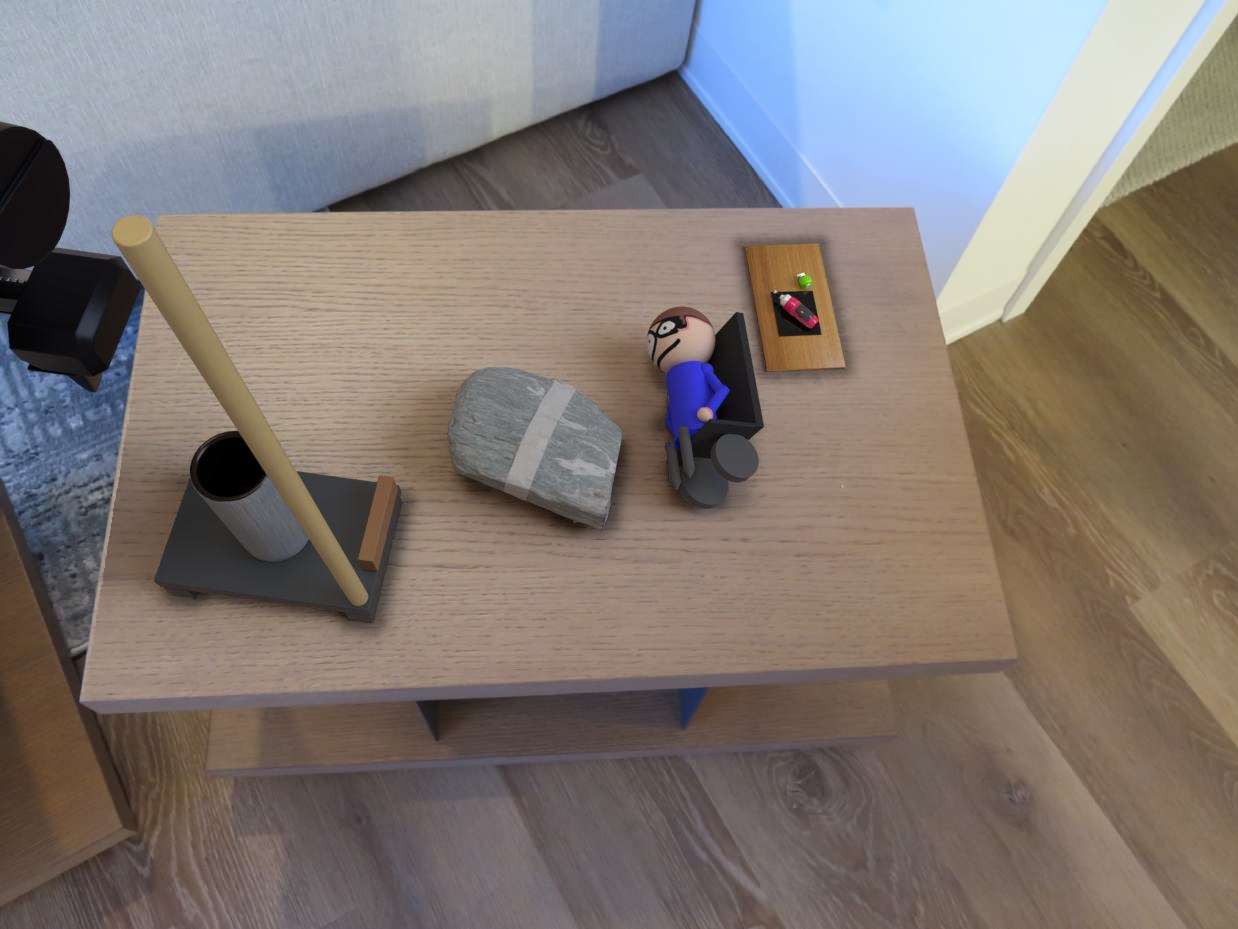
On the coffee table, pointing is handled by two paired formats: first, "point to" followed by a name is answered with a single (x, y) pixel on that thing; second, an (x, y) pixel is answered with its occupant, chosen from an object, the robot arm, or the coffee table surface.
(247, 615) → the coffee table surface
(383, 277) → the coffee table surface
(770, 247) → the board
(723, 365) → the character figurine
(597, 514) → the decorative stone
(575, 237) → the coffee table surface
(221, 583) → the stand with wooden pole
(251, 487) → the planter
